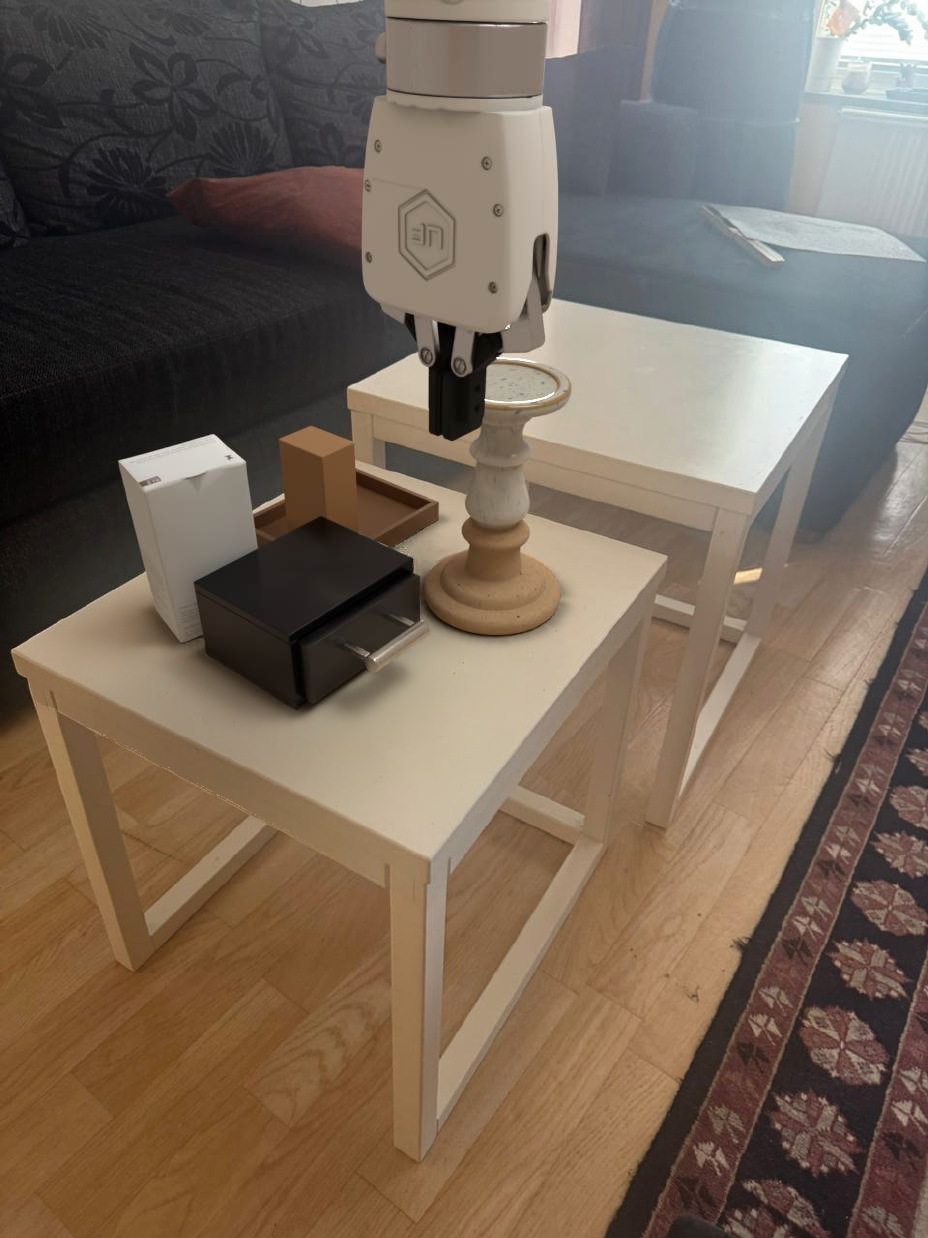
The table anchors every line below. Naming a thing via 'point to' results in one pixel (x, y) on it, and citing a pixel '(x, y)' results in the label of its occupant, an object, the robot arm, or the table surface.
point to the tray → (365, 513)
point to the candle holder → (501, 513)
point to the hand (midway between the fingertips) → (455, 430)
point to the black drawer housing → (288, 599)
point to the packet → (318, 478)
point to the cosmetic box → (188, 521)
